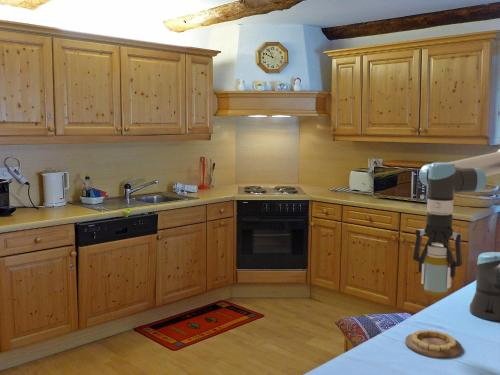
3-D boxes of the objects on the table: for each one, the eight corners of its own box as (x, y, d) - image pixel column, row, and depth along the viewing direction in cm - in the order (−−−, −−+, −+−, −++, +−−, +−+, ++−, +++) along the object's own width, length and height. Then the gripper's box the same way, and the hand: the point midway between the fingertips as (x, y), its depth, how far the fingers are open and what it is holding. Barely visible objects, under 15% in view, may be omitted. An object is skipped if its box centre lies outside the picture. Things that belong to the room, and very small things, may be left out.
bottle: (449, 297, 162) (451, 249, 160) (425, 295, 163) (427, 248, 161) (445, 289, 168) (448, 244, 166) (422, 288, 170) (424, 242, 168)
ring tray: (441, 332, 178) (441, 325, 178) (473, 354, 162) (473, 347, 161) (395, 337, 174) (395, 330, 174) (423, 360, 158) (424, 352, 157)
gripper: (403, 211, 164) (400, 282, 167) (472, 218, 154) (467, 293, 157) (410, 208, 171) (407, 276, 174) (476, 214, 160) (471, 287, 163)
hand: (435, 284), depth 165 cm, fingers closed on bottle, 7 cm apart
